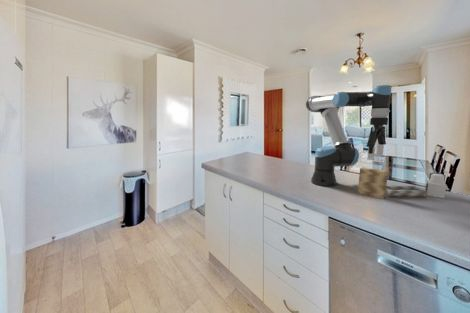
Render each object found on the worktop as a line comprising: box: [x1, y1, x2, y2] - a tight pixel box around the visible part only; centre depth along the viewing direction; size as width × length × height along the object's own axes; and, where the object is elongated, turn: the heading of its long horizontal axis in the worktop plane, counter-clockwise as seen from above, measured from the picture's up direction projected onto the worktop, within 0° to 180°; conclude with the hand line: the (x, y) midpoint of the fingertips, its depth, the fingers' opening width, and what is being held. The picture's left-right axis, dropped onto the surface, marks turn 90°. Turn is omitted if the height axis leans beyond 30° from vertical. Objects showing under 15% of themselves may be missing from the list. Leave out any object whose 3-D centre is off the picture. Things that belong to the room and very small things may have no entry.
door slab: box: [357, 167, 389, 199], centre depth 115 cm, size 12×4×14 cm, turn 40°
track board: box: [385, 185, 427, 199], centre depth 116 cm, size 18×9×4 cm, turn 85°
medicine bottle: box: [425, 172, 447, 199], centre depth 113 cm, size 7×7×12 cm
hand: (375, 158), depth 113 cm, fingers open, 13 cm apart
